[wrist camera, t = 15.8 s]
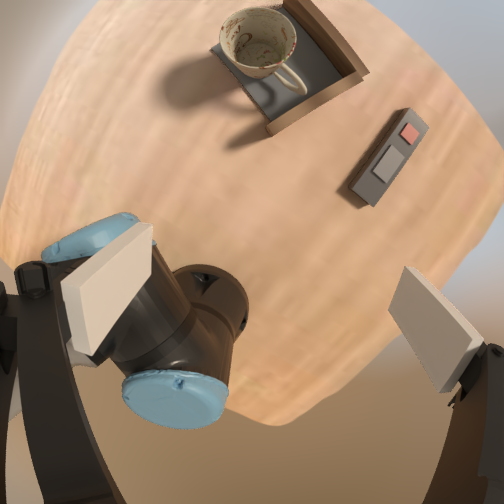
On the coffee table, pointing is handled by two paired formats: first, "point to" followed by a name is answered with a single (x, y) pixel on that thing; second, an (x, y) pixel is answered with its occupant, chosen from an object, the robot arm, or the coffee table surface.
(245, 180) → the coffee table surface
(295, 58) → the mat
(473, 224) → the coffee table surface
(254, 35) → the mug
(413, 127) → the remote
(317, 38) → the brown corner wall
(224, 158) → the coffee table surface
